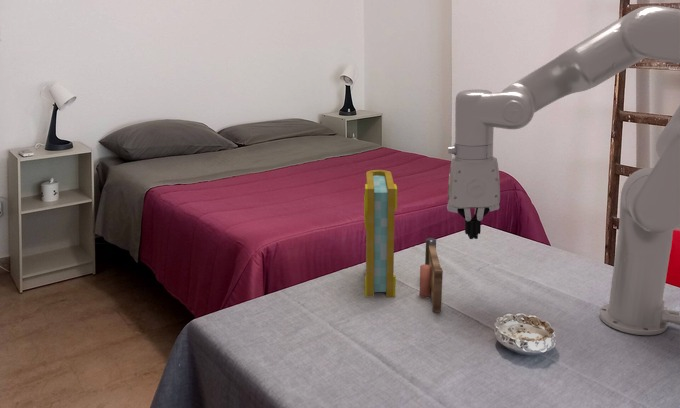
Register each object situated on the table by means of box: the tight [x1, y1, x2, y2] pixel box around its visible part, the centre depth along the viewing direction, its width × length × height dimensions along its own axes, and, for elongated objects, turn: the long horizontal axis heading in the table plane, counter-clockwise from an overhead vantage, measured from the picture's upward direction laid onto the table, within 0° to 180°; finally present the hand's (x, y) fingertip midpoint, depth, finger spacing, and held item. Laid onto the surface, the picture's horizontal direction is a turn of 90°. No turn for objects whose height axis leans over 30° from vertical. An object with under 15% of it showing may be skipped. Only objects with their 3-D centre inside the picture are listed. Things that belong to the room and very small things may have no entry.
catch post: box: [418, 263, 431, 299], centre depth 137 cm, size 2×2×7 cm
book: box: [363, 169, 398, 298], centre depth 142 cm, size 17×7×25 cm, turn 179°
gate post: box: [424, 237, 437, 265], centre depth 145 cm, size 2×2×10 cm
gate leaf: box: [428, 245, 444, 313], centre depth 136 cm, size 16×2×9 cm, turn 177°
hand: (472, 236), depth 130 cm, fingers closed
